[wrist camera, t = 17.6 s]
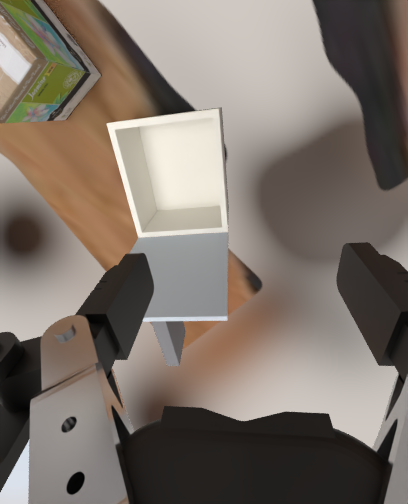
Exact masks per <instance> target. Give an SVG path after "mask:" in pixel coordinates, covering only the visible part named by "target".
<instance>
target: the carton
mask: <svg viewBox="0 0 408 504" xmlns="http://www.w3.org/2000/svg"><path fill="white" fill-rule="evenodd" d="M107 127H108V130H109V134H110V138H111V141H112V145H113V148H114V152H115V156H116V159H117V163H118V166H119V170H120V173H121V177H122V181H123V184H124V188H125V191H126V195H127V199H128V202H129V206H130V209H131V213H132V216H133V220H134V224H135V227H136V231H137V234H138V238H139V237H155V236H171V235H187V234H203V233H219V232H228V208H229V207H228V193H227V178H226V163H225V149H224V135H223V120H222V108H214V109H207V110H199V111H191V112H184V113H176V114H169V115H161V116H154V117H146V118H139V119H131V120H125V121H119V122H112V123H107Z"/></svg>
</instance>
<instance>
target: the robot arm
mask: <svg viewBox="0 0 408 504" xmlns="http://www.w3.org/2000/svg"><path fill="white" fill-rule="evenodd" d="M337 286H338V290H339V292H340V294H341V296H342V298H343V300H344V302H345V304H346V305H347V307H348V309H349V311H350V313H351V315H352V317H353V318H354V320H355V322H356V324H357V325H358V328H359V329H360V331H361V333H362V335H363V337H364V339H365V341H366V343H367V345H368V346H369V348H370V350H371V352H372V354H373V356H374V357H375V359H376V361H377V363H378V365H379V366H395V368H396V369H397V371H398V375H397V377H396V379H395V382H394V385H393V389H392V392H391V395H390V399H389V402H388V405H387V409H386V412H385V415H384V418H383V422H382V425H381V428H380V431H379V433H378V436H377V438H376V441H375V443H374V446H373V448H370V447H369V446H367V445H366V444H365V443H363V442H361V441H360V440H358V439H356V438H354V437H353V436H351V435H349V434H346V433H344V432H342V431H340V430H337V429H334V428H333V426H332V423H331V420H330V417H329V414H324V413H302V412H282V413H278V414H274V415H270V416H266V417H261V418H257V419H253V420H249V421H239V420H236V419H233V418H230V417H227V416H224V415H221V414H218V413H215V412H212V411H209V410H207V409H204V408H195V407H173V406H164V410H163V415H162V419H159V420H157V421H154V422H151V423H149V424H147V425H145V426H143V427H141V428H139V429H138V430H136V431H135V432H134V429H133V427H132V424H131V422H130V420H129V417H128V414H127V411H126V408H125V405H124V402H123V399H122V396H121V393H120V389H119V386H118V383H117V380H116V377H115V374H114V371H113V369H112V366H113V364H114V361H115V360H127V358H128V356H129V354H130V351H131V348H132V346H133V344H134V341H135V339H136V336H137V333H138V331H139V329H140V326H141V324H142V321H143V319H144V316H145V314H146V311H147V309H148V306H149V304H150V301H151V299H152V296H153V293H154V281H153V278H152V274H151V271H150V267H149V264H148V260H147V257H146V255H145V254H144V253H130V254H125V256H124V257H123V258H122V260H121V261H120V263H119V264H118V265H115V266H114V267H112V268H111V269H110V270H108V271H107V272H106V273H105V274H104V275H103V277H102V278H101V280H100V281H99V283H98V284H97V285H96V287H95V288H94V290H93V291H92V292H91V293H90V295H89V296H88V298H87V299H86V300H85V302H84V303H83V305H82V306H81V307H80V309H79V310H78V312H77V313H76V314H75V315H73V316H68V317H65V318H63V319H61V320H59V321H57V322H55V323H54V324H53V325H51V326H50V327H49V328H48V329H47V330H46V331H45V333H44V334H43V336H41V337H37V338H33V339H30V340H26V341H22V342H20V341H19V340H18V339H17V337H16V336H15V335H14V334H13V333H11V332H2V333H0V492H1V490H2V488H3V486H4V484H5V483H6V481H7V479H8V477H9V475H10V473H11V472H12V470H13V468H14V466H15V464H16V462H17V461H18V459H19V457H20V455H21V453H22V451H23V450H24V448H25V446H26V444H27V442H28V440H29V439H30V444H29V447H30V448H29V503H28V504H408V271H407V270H406V269H405V268H404V267H403V266H402V265H401V264H400V263H399V262H397V261H395V260H393V259H391V258H389V257H388V256H386V255H380V254H379V253H378V252H377V251H376V250H375V249H374V247H373V246H371V244H370V243H367V242H366V243H346V244H345V245H344V246H343V249H342V254H341V258H340V263H339V268H338V273H337Z"/></svg>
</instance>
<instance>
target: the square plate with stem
mask: <svg viewBox="0 0 408 504" xmlns="http://www.w3.org/2000/svg"><path fill="white" fill-rule="evenodd" d="M130 253H144V254H145V255H146V257H147V260H148V264H149V267H150V271H151V274H152V278H153V281H154V293H153V296H152V299H151V301H150V304H149V306H148V309H147V311H146V314H145V316H144V319H143V321H145V322H146V321H151V323H152V325H153V328H154V331H155V334H156V336H157V339H158V342H159V345H160V347H161V350H162V353H163V356H164V358H165V361H166V364H167V366H179V365H180V359H181V354H182V348H183V342H184V337H185V327H184V323H183V321H224V320H227V309H228V232H224V233H208V234H192V235H176V236H160V237H144V238H138V240H137V241H136V243H135V245H134V246H133V248H132V250H131V252H130ZM130 253H129V254H130ZM143 321H142V322H143Z"/></svg>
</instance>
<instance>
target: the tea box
mask: <svg viewBox="0 0 408 504" xmlns="http://www.w3.org/2000/svg"><path fill="white" fill-rule="evenodd" d="M100 77H101V74H100V73H99V72H98V70H97V69H96V68H95V66H94V65H93V64H92V62H91V61H90V60H89V58H88V57H87V56H86V55H85V53H84V52H83V51H82V49H81V48H80V47H79V46H78V44H77V43H76V41H75V40H74V39H73V38H72V36H71V35H70V34H69V33H68V31H67V30H66V29H65V28H64V26H63V25H62V24H61V22H60V21H59V20H58V18H57V17H56V16H55V14H54V13H53V12H52V11H51V9H50V8H49V7H48V6H47V5H46V3H45V2H44V1H43V0H0V123H15V122H40V121H59V120H66V119H67V117H68V116H69V115H70V114H71V112H72V111H73V110H74V108H75V107H76V106H77V105H78V103H79V102H80V101H81V100H82V99H83V98H84V96H85V95H86V94H87V93H88V91H89V90H90V89H91V88H92V87H93V85H94V84H95V83H96V82H97V81H98V79H99V78H100Z"/></svg>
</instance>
